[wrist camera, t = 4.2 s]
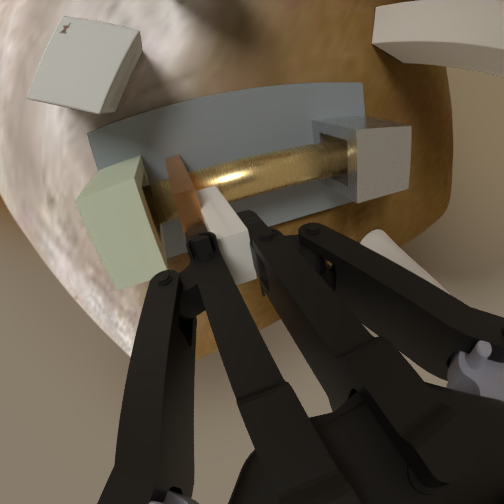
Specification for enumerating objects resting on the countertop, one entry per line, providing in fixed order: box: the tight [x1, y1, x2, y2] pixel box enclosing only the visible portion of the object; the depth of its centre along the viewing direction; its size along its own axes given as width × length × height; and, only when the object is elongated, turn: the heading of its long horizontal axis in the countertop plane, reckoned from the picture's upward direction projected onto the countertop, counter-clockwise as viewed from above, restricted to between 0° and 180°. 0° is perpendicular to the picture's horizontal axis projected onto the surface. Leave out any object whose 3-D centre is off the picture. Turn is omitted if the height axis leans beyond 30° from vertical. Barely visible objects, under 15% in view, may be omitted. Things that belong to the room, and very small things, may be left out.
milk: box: [372, 0, 504, 77], centre depth 12 cm, size 6×6×22 cm
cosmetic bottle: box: [360, 229, 449, 294], centre depth 29 cm, size 6×6×22 cm
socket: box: [75, 155, 168, 291], centre depth 19 cm, size 7×4×8 cm, turn 9°
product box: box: [27, 16, 143, 114], centre depth 13 cm, size 6×6×7 cm
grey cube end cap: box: [311, 116, 412, 204], centre depth 23 cm, size 6×7×7 cm
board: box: [87, 82, 365, 259], centre depth 25 cm, size 14×27×1 cm, turn 99°
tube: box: [142, 139, 348, 235], centre depth 20 cm, size 5×20×10 cm, turn 99°
